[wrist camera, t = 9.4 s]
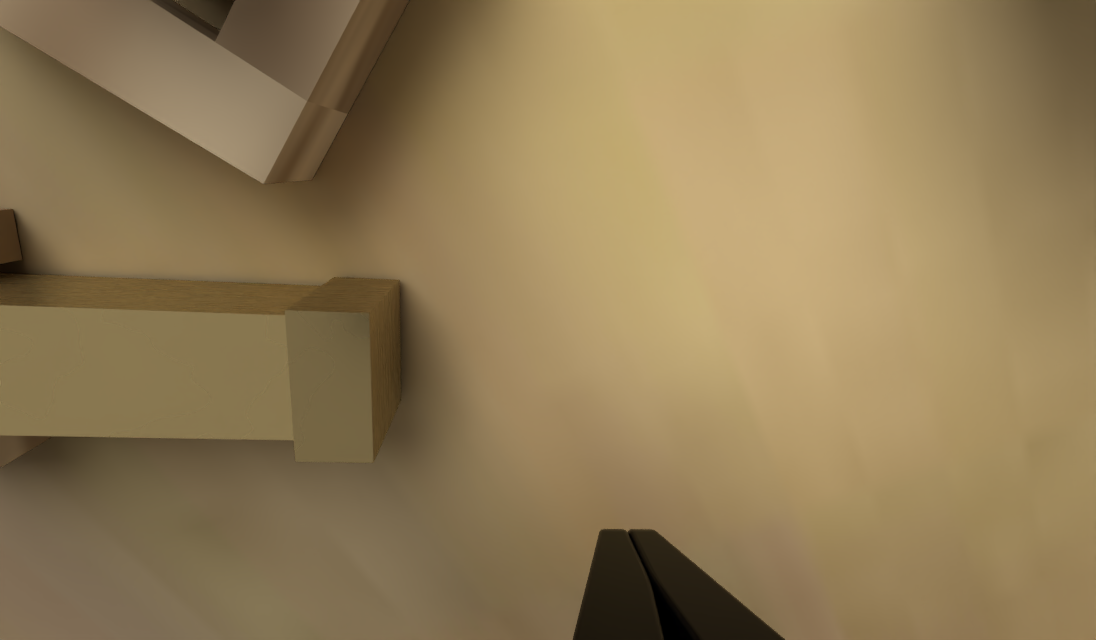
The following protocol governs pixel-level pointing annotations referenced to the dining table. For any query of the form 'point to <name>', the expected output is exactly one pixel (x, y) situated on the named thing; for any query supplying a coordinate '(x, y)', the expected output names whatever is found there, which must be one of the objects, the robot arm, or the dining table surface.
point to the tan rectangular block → (202, 361)
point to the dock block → (223, 68)
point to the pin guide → (3, 248)
